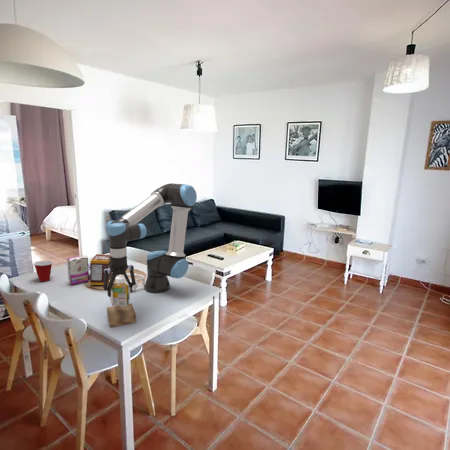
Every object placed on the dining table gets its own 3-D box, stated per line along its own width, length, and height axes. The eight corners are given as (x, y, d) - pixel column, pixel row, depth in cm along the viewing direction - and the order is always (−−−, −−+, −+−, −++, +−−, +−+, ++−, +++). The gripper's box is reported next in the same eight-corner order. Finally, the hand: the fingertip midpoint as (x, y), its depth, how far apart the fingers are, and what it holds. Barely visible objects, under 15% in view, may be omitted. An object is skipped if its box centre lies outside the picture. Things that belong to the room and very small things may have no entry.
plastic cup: (57, 279, 205) (56, 261, 202) (40, 284, 196) (38, 266, 194) (49, 275, 211) (47, 258, 208) (32, 280, 202) (30, 262, 200)
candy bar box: (86, 278, 206) (85, 255, 202) (89, 281, 203) (88, 257, 199) (68, 282, 199) (66, 258, 195) (70, 285, 195) (69, 260, 191)
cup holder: (112, 285, 197) (111, 274, 196) (126, 280, 206) (126, 269, 204) (132, 294, 186) (132, 282, 184) (147, 288, 195) (147, 277, 193)
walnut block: (131, 312, 164) (131, 303, 163) (136, 323, 154) (135, 313, 153) (107, 316, 159) (106, 307, 158) (109, 328, 149) (109, 318, 148)
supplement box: (112, 277, 211) (112, 254, 208) (107, 285, 196) (108, 261, 193) (96, 276, 209) (96, 253, 207) (89, 284, 194) (90, 260, 192)
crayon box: (128, 303, 157) (128, 281, 154) (127, 306, 154) (126, 283, 151) (114, 303, 156) (113, 281, 154) (112, 306, 153) (111, 283, 151)
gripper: (137, 251, 158) (138, 293, 163) (94, 256, 148) (96, 302, 152) (142, 254, 152) (143, 299, 157) (97, 261, 141) (99, 308, 146)
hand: (120, 300), depth 154 cm, fingers closed on crayon box, 8 cm apart
